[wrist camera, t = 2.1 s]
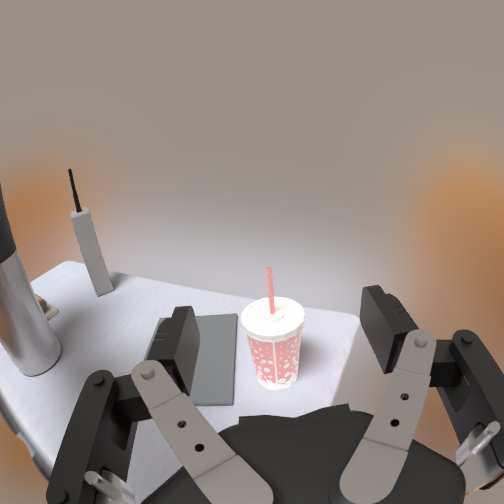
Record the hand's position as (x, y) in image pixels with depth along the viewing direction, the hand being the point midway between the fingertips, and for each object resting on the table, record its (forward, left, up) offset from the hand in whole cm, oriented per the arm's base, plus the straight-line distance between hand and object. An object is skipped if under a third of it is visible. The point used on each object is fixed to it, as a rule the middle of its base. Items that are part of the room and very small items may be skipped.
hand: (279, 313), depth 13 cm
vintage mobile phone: (-33, +34, -18) cm, 51 cm away
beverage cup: (0, +11, -18) cm, 21 cm away
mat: (-11, +15, -18) cm, 26 cm away
